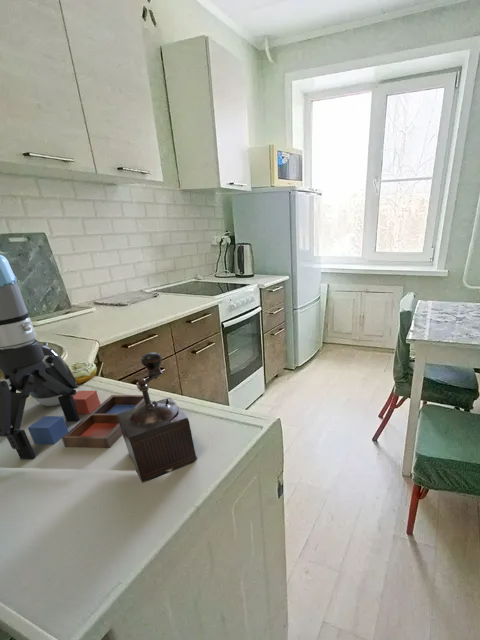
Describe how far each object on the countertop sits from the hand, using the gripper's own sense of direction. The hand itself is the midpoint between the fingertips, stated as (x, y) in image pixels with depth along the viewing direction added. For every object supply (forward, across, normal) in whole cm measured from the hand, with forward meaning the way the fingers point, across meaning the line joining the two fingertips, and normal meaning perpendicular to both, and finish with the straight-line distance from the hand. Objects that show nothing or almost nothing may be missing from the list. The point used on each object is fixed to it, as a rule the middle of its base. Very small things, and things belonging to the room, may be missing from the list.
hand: (53, 439), depth 74 cm
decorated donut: (0, +31, +15) cm, 35 cm away
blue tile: (0, +10, -10) cm, 14 cm away
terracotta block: (0, +12, 0) cm, 12 cm away
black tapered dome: (0, +17, +11) cm, 20 cm away
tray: (0, +6, -10) cm, 11 cm away
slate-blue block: (0, 0, 0) cm, 0 cm away
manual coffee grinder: (0, -3, -25) cm, 25 cm away
